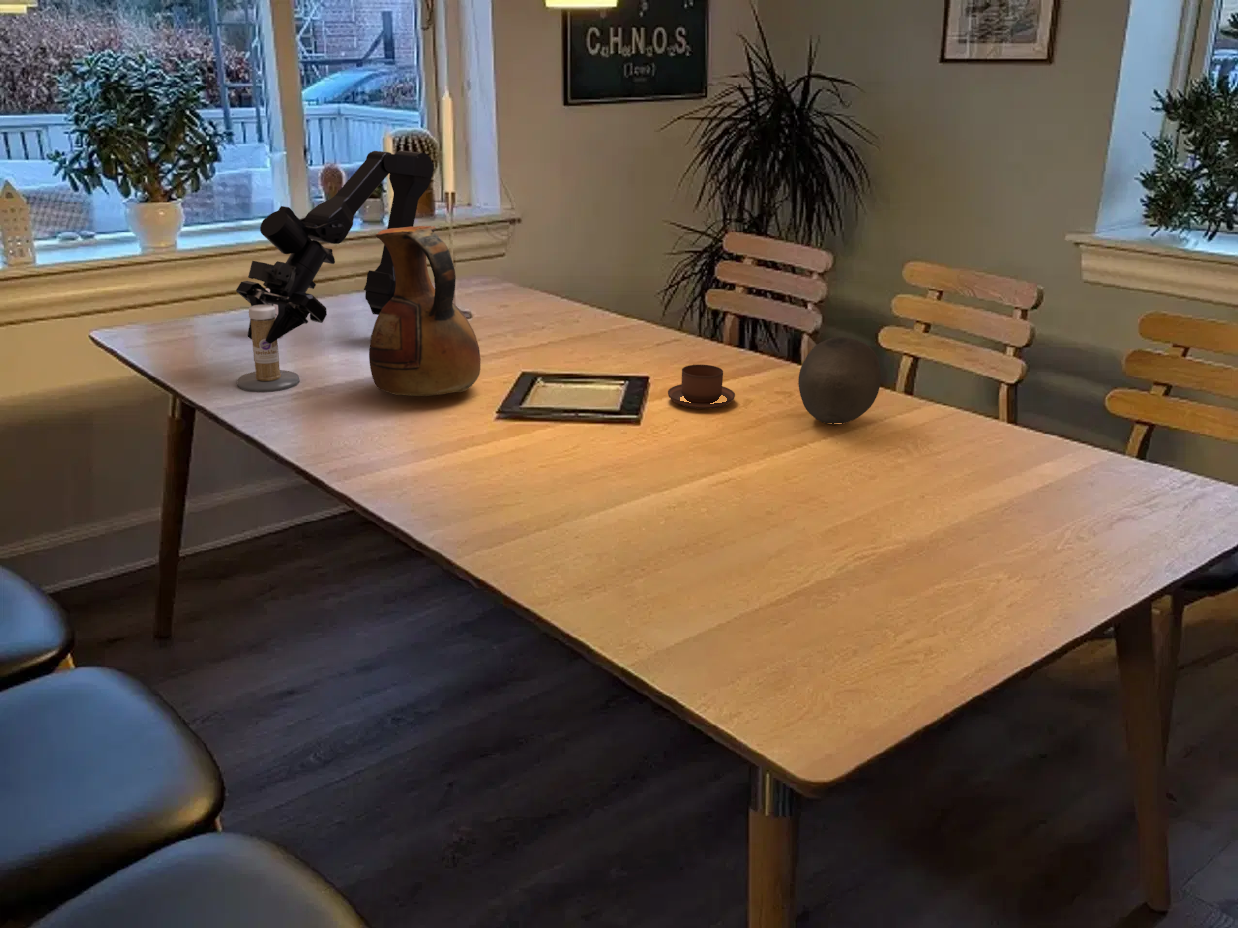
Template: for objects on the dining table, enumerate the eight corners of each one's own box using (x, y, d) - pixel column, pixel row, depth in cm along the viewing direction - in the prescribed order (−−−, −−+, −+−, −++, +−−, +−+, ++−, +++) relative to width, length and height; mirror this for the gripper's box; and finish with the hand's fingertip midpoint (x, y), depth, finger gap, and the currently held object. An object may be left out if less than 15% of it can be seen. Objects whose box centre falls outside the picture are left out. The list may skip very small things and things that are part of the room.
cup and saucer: (653, 402, 200) (654, 369, 198) (698, 388, 208) (699, 357, 205) (703, 419, 192) (705, 384, 190) (748, 404, 200) (750, 371, 198)
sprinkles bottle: (260, 383, 202) (253, 310, 197) (252, 377, 206) (244, 305, 201) (285, 379, 205) (278, 307, 200) (276, 373, 208) (269, 302, 203)
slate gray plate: (309, 376, 209) (308, 372, 209) (283, 393, 199) (283, 389, 199) (254, 372, 211) (253, 368, 211) (226, 389, 201) (225, 385, 201)
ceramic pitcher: (430, 369, 215) (423, 212, 204) (504, 391, 203) (502, 226, 192) (348, 392, 201) (336, 225, 190) (423, 417, 189) (415, 241, 178)
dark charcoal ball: (776, 420, 192) (783, 335, 186) (835, 406, 199) (843, 324, 194) (835, 444, 181) (844, 355, 175) (895, 429, 188) (905, 343, 183)
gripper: (238, 237, 204) (194, 307, 199) (308, 249, 194) (264, 324, 190) (277, 272, 213) (236, 340, 208) (345, 286, 203) (304, 358, 199)
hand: (258, 340), depth 201 cm, fingers open, 4 cm apart
